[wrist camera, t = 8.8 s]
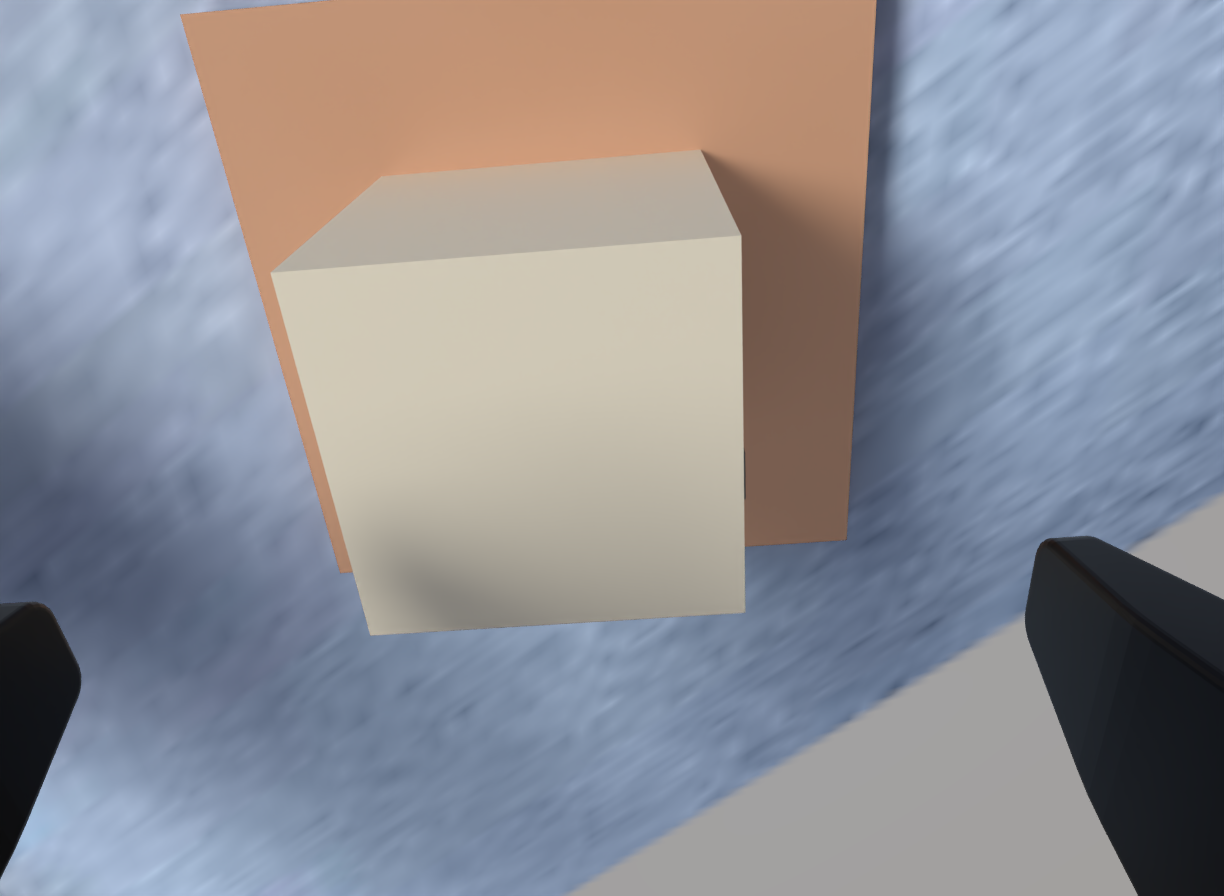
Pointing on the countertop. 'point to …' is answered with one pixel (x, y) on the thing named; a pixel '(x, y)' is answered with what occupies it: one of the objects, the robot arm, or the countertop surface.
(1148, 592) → the robot arm
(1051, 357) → the countertop surface
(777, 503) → the terracotta tile
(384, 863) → the countertop surface
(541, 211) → the cream letter cube
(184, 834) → the countertop surface
